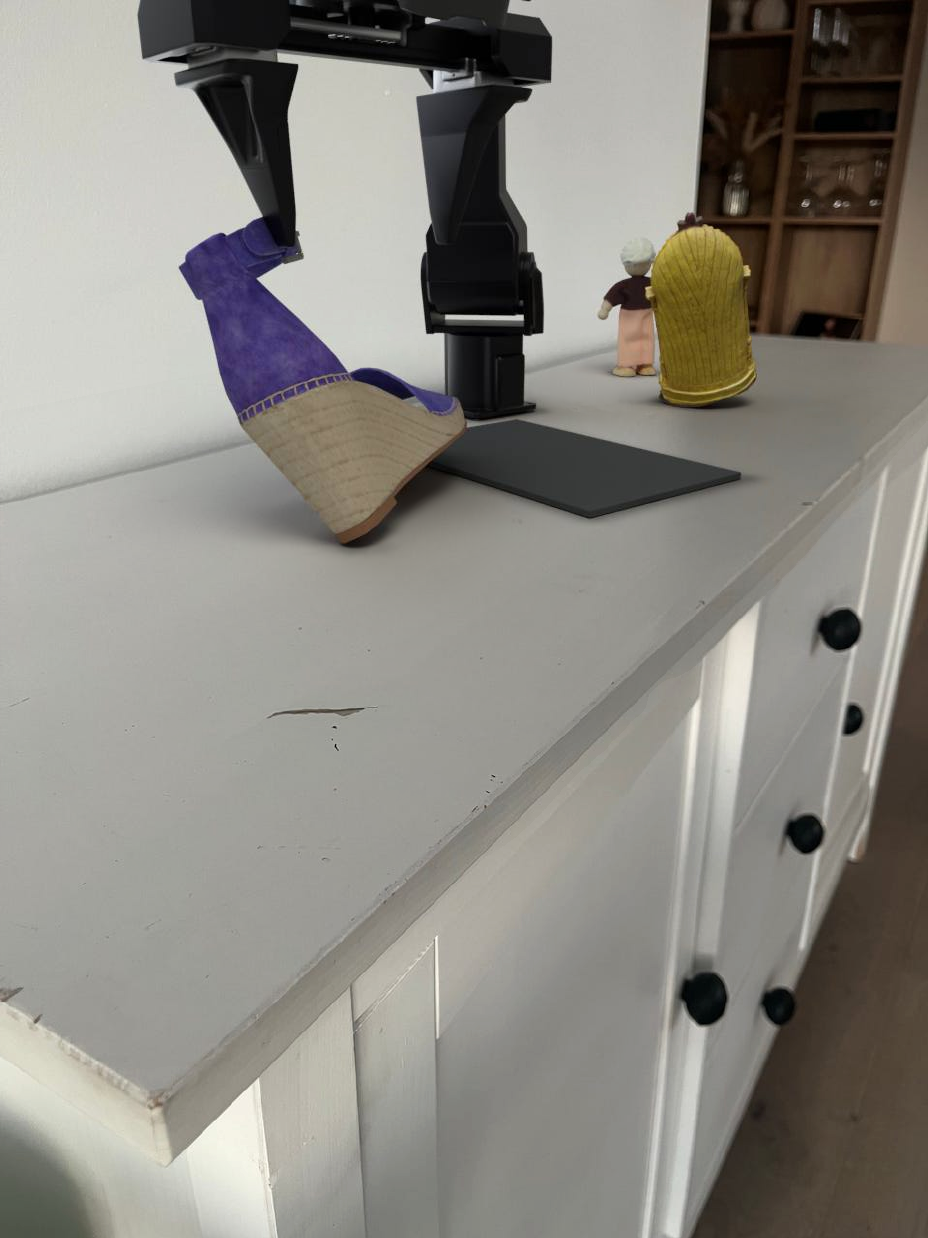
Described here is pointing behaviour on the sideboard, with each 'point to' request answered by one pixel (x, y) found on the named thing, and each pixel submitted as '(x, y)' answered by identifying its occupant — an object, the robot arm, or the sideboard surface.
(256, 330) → the sandal
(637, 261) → the grandmother figurine
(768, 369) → the sideboard surface
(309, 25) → the robot arm
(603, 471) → the mat
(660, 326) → the shrine
